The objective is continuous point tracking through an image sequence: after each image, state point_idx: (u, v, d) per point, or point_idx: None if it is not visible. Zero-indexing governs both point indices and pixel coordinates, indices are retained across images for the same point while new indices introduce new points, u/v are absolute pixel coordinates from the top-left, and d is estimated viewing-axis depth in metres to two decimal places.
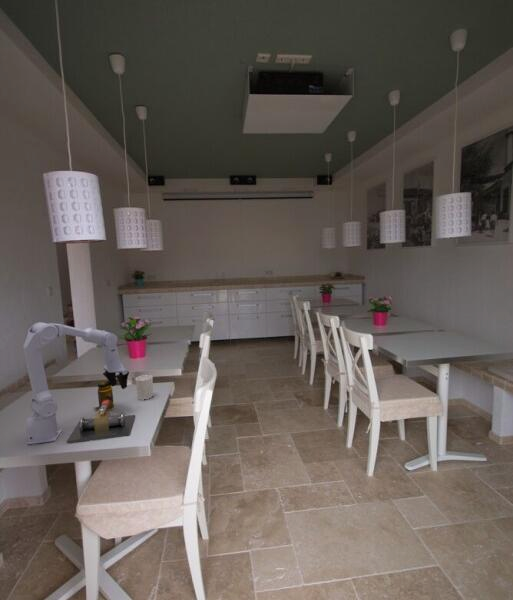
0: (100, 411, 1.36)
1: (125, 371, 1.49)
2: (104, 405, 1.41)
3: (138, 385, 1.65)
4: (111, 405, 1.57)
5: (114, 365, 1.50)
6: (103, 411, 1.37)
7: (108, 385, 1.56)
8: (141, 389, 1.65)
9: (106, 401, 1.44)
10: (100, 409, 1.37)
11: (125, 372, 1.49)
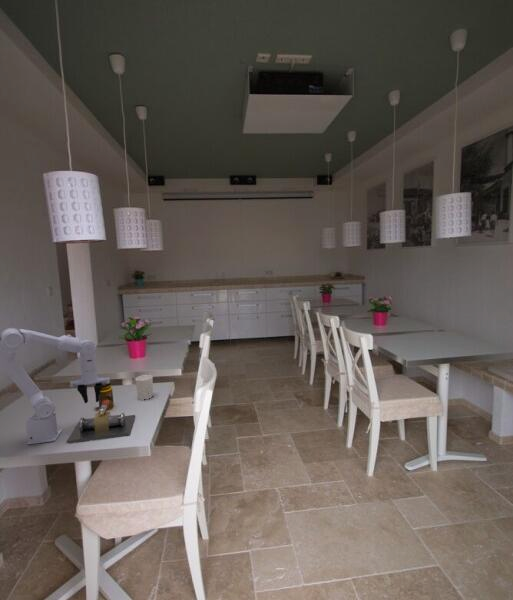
0: (100, 411, 1.36)
1: (109, 379, 1.43)
2: (104, 405, 1.41)
3: (138, 385, 1.65)
4: (111, 405, 1.57)
5: (95, 375, 1.40)
6: (103, 411, 1.37)
7: (108, 385, 1.56)
8: (141, 389, 1.65)
9: (106, 401, 1.44)
10: (100, 409, 1.37)
11: (109, 380, 1.43)
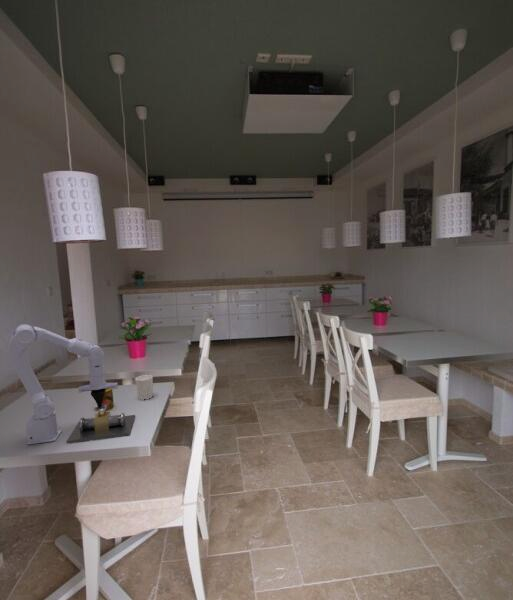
0: (100, 411, 1.36)
1: (117, 385, 1.44)
2: (104, 405, 1.41)
3: (138, 385, 1.65)
4: (111, 405, 1.57)
5: (103, 381, 1.41)
6: (103, 411, 1.37)
7: None
8: (141, 389, 1.65)
9: (106, 401, 1.44)
10: (100, 409, 1.37)
11: (117, 386, 1.44)
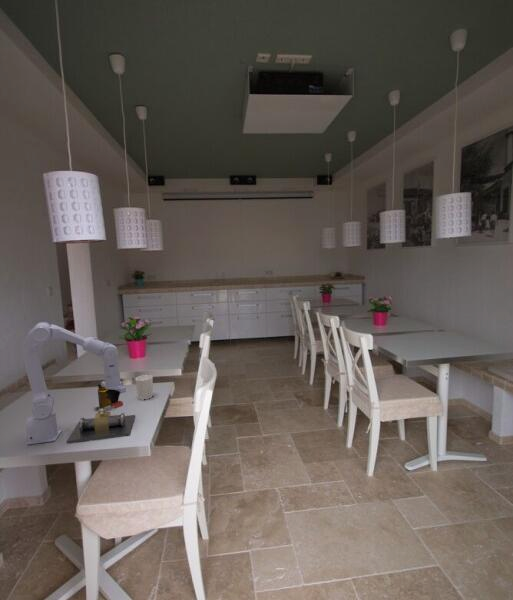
0: (98, 411, 1.36)
1: (124, 389, 1.38)
2: (110, 406, 1.40)
3: (138, 385, 1.65)
4: None
5: (113, 382, 1.39)
6: (100, 412, 1.36)
7: None
8: (141, 389, 1.65)
9: (118, 402, 1.43)
10: (100, 409, 1.37)
11: (124, 390, 1.38)
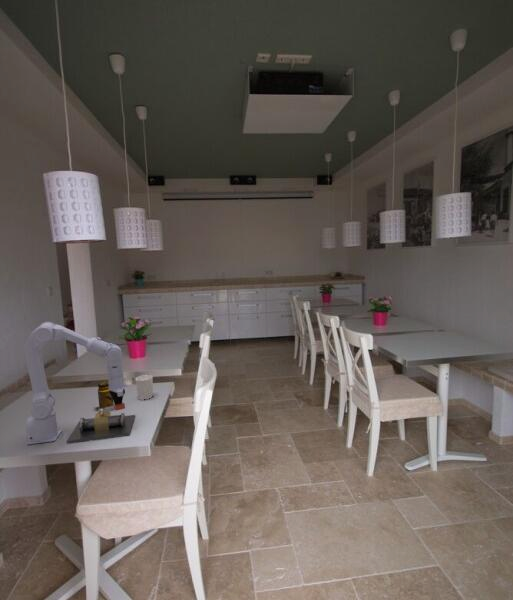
0: None
1: (120, 393, 1.35)
2: (111, 407, 1.39)
3: (138, 385, 1.65)
4: (111, 405, 1.57)
5: (114, 383, 1.38)
6: (99, 412, 1.36)
7: (108, 385, 1.56)
8: (141, 389, 1.65)
9: (121, 404, 1.40)
10: (100, 408, 1.37)
11: (120, 394, 1.35)
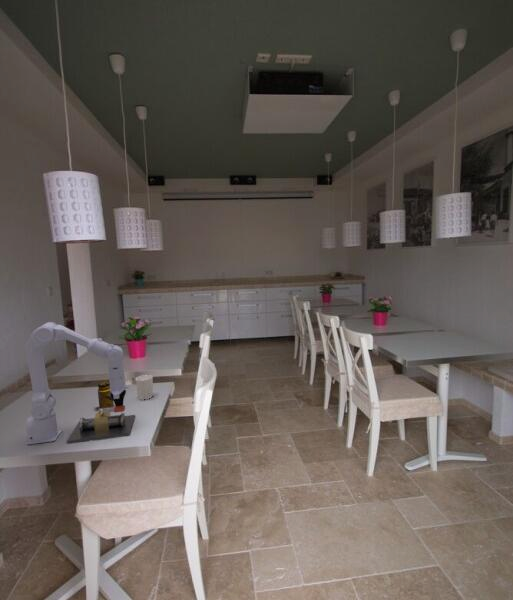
0: None
1: (116, 396, 1.32)
2: (111, 408, 1.37)
3: (138, 385, 1.65)
4: (111, 405, 1.57)
5: (113, 385, 1.36)
6: (99, 411, 1.36)
7: (108, 385, 1.56)
8: (141, 389, 1.65)
9: (120, 407, 1.38)
10: (100, 408, 1.37)
11: (116, 397, 1.32)
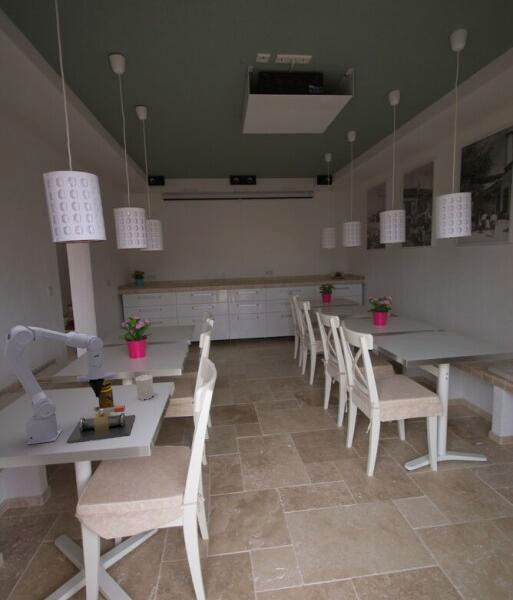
0: None
1: (115, 375, 1.46)
2: (111, 408, 1.37)
3: (138, 385, 1.65)
4: (111, 405, 1.57)
5: (101, 371, 1.43)
6: (99, 411, 1.36)
7: (108, 385, 1.56)
8: (141, 389, 1.65)
9: (120, 407, 1.38)
10: (100, 408, 1.37)
11: (115, 376, 1.46)
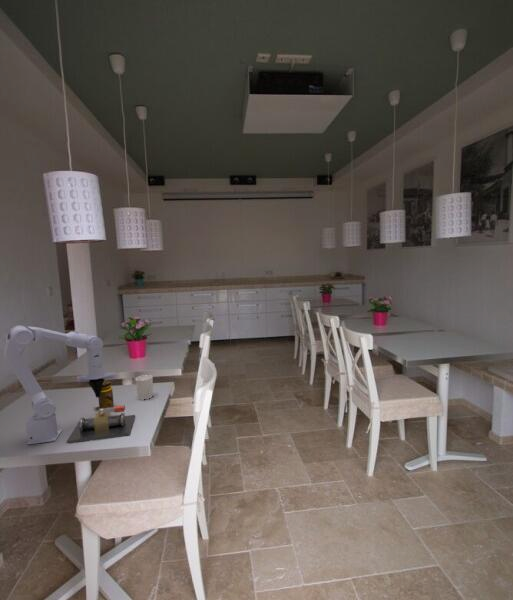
0: None
1: (115, 375, 1.46)
2: (111, 408, 1.37)
3: (138, 385, 1.65)
4: (111, 405, 1.57)
5: (101, 371, 1.43)
6: (99, 411, 1.36)
7: (108, 385, 1.56)
8: (141, 389, 1.65)
9: (120, 407, 1.38)
10: (100, 408, 1.37)
11: (115, 376, 1.46)
